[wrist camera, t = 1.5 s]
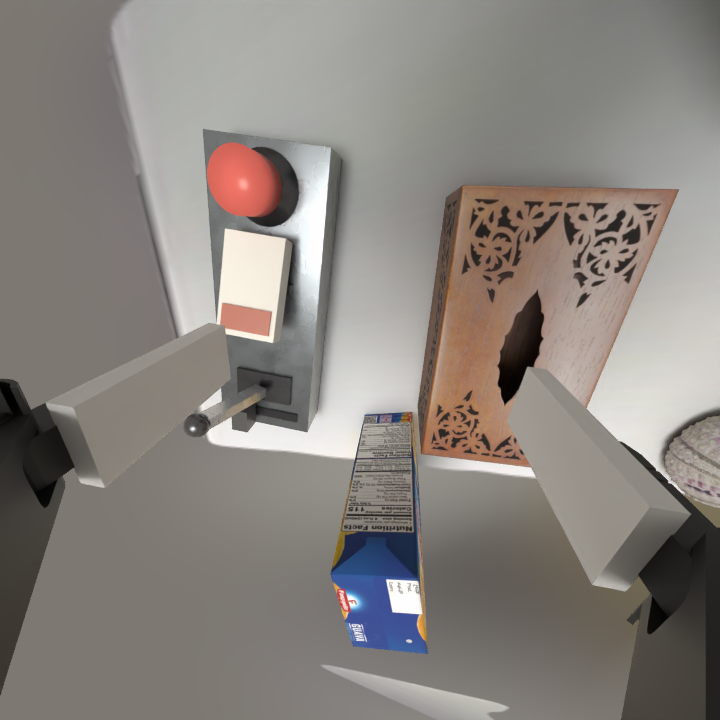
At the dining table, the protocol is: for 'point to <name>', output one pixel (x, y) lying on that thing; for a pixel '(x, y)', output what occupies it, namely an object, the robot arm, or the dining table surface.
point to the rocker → (253, 285)
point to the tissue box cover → (527, 303)
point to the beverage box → (383, 541)
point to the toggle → (222, 411)
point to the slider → (244, 419)
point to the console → (305, 282)
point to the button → (243, 181)
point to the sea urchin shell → (697, 461)
